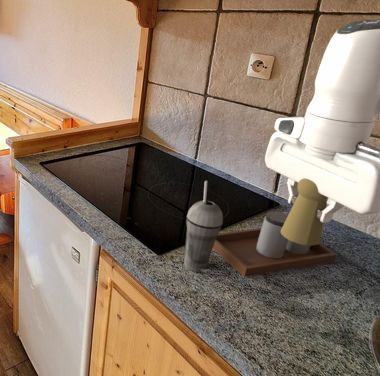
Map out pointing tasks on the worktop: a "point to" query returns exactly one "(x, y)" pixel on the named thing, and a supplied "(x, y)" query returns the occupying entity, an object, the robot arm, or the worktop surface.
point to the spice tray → (259, 264)
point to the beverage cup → (201, 232)
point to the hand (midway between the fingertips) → (307, 212)
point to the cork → (305, 215)
